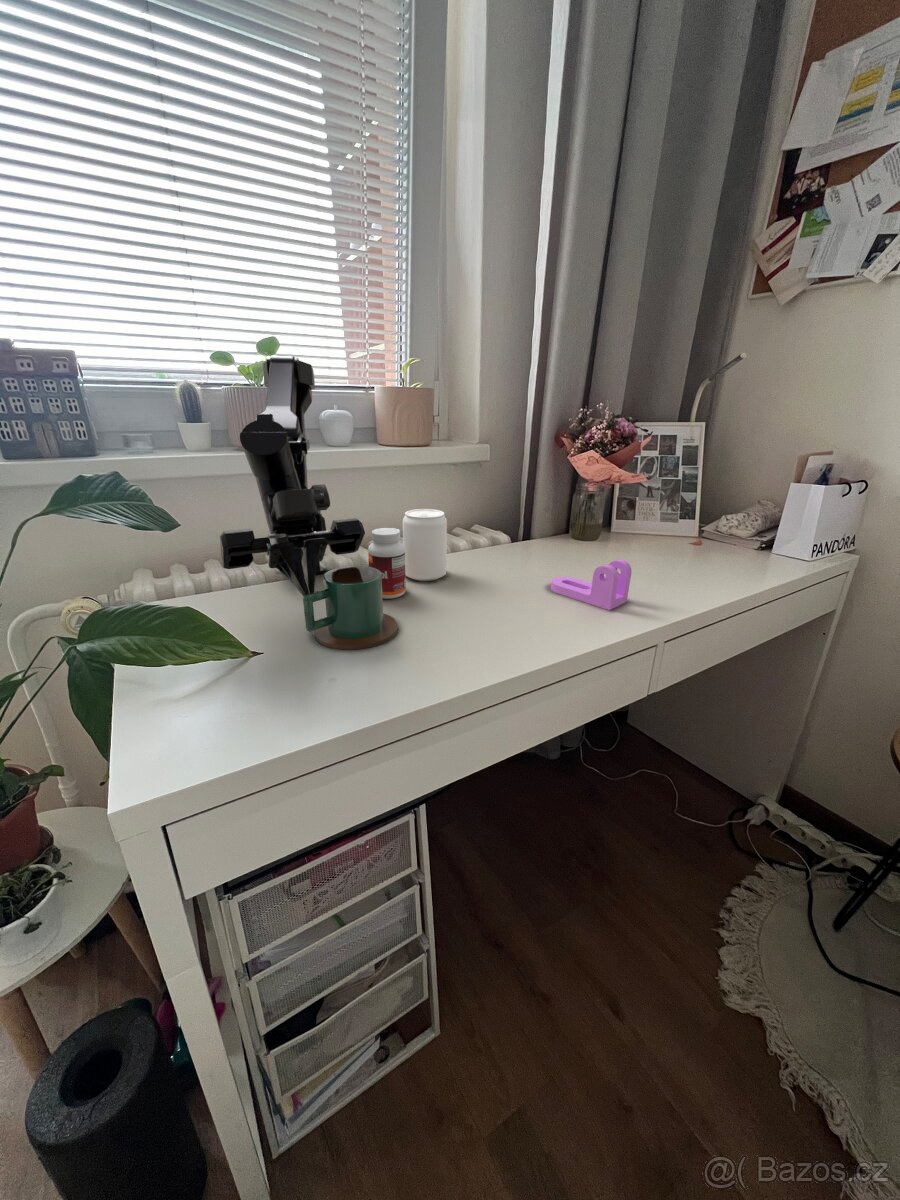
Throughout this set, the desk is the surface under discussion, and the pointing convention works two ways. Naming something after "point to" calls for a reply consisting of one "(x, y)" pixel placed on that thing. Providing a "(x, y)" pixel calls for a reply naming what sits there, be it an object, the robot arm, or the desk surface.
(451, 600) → the desk surface
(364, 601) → the mug
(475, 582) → the desk surface
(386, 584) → the pill bottle
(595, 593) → the bracket
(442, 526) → the beverage can
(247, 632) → the desk surface
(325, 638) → the coaster
